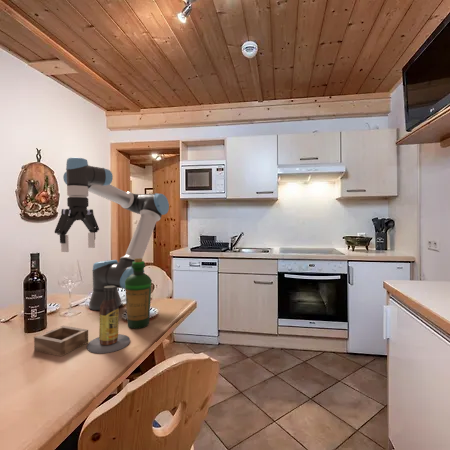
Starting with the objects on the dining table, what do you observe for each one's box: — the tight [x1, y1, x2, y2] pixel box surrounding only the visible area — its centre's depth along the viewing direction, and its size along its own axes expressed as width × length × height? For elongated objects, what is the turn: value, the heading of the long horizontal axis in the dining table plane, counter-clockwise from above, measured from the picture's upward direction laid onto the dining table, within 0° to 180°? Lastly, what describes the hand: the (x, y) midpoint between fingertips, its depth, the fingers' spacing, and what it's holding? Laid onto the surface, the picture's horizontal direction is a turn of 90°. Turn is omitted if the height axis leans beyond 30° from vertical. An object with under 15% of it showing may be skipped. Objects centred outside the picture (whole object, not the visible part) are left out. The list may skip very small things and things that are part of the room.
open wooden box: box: [33, 325, 89, 357], centre depth 96 cm, size 11×12×4 cm
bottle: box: [124, 258, 153, 330], centre depth 115 cm, size 11×11×28 cm
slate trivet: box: [86, 333, 131, 354], centre depth 98 cm, size 14×14×1 cm
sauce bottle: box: [98, 286, 120, 346], centre depth 98 cm, size 6×6×20 cm
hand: (79, 249), depth 112 cm, fingers open, 13 cm apart
